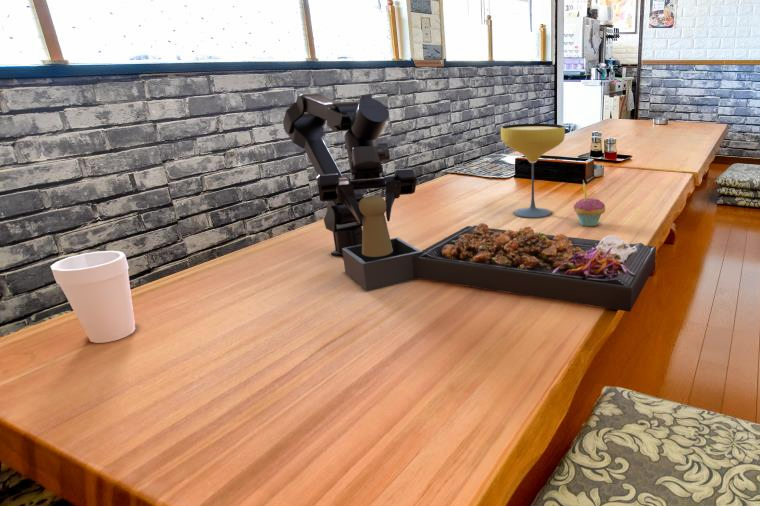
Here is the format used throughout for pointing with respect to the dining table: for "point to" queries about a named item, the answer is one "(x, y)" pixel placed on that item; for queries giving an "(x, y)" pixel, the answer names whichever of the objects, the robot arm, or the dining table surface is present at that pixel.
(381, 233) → the cork
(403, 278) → the dark grey open box
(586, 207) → the cupcake
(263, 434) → the dining table surface
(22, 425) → the dining table surface
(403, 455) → the dining table surface
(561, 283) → the food platter
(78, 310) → the foam cup
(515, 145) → the cocktail glass
